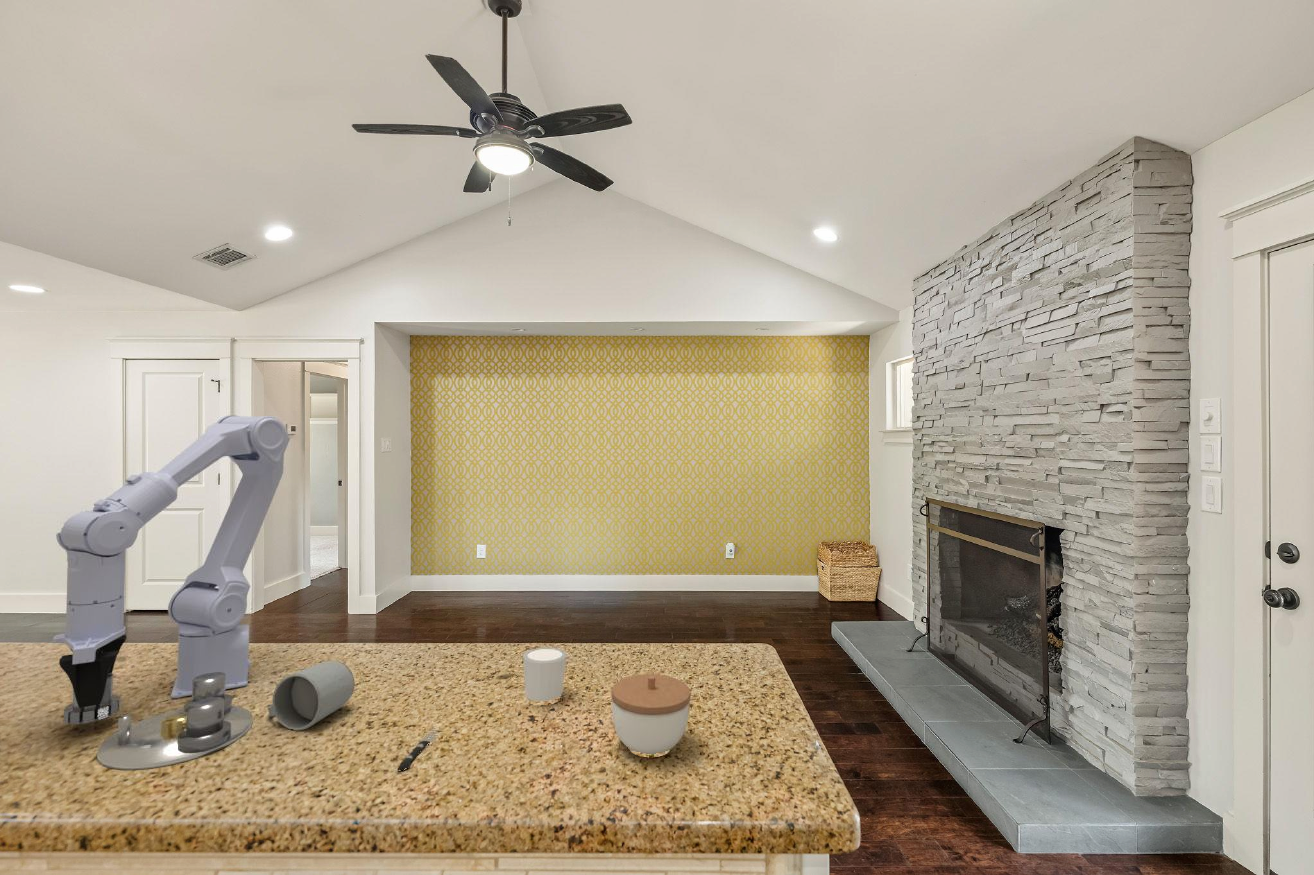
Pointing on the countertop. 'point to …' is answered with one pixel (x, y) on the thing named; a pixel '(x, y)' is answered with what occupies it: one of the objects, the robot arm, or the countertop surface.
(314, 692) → the ceramic mug
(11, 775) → the countertop surface
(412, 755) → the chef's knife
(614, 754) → the countertop surface
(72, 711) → the planet gear
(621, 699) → the lidded jar
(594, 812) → the countertop surface
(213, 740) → the carrier
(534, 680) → the white short cylinder
